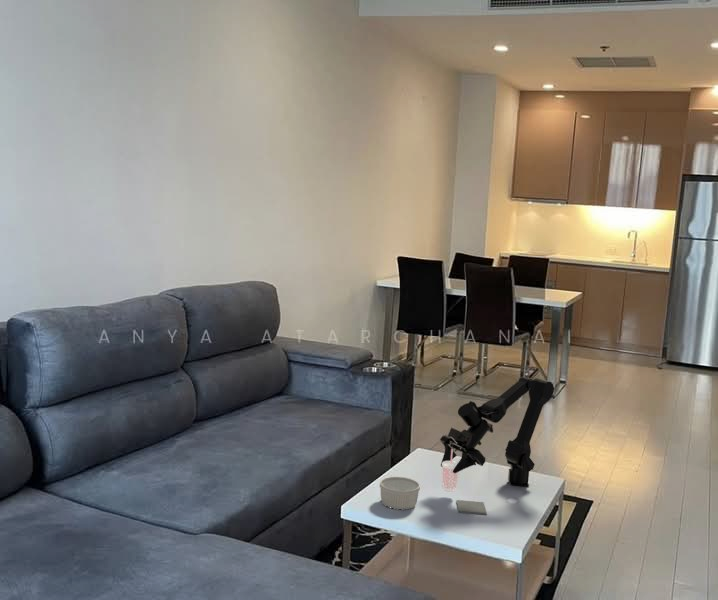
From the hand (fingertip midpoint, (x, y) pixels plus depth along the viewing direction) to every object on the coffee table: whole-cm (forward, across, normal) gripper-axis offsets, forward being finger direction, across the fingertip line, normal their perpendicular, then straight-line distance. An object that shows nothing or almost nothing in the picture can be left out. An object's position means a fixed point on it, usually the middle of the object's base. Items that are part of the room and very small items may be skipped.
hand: (447, 469), depth 248 cm
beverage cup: (+4, 0, +6) cm, 7 cm away
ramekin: (+20, -2, -6) cm, 21 cm away
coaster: (+5, +11, +9) cm, 15 cm away
